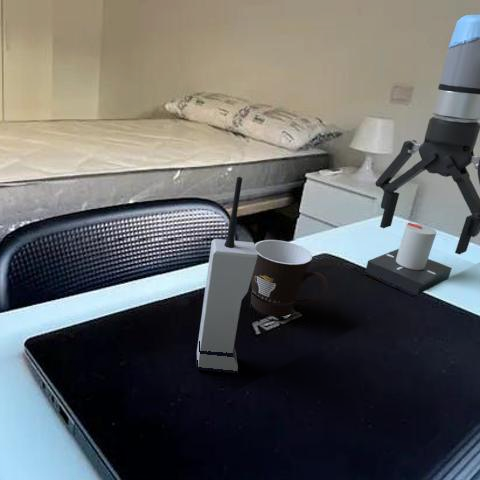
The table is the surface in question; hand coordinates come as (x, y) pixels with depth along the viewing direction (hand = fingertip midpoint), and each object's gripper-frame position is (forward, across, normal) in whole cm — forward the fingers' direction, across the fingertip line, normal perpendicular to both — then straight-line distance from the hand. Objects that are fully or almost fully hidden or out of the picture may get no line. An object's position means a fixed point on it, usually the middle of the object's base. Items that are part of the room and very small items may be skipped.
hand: (420, 238), depth 90 cm
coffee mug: (+8, +5, +32) cm, 34 cm away
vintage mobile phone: (+8, +1, +49) cm, 50 cm away
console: (+8, +1, 0) cm, 8 cm away
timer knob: (+5, +1, 0) cm, 5 cm away
